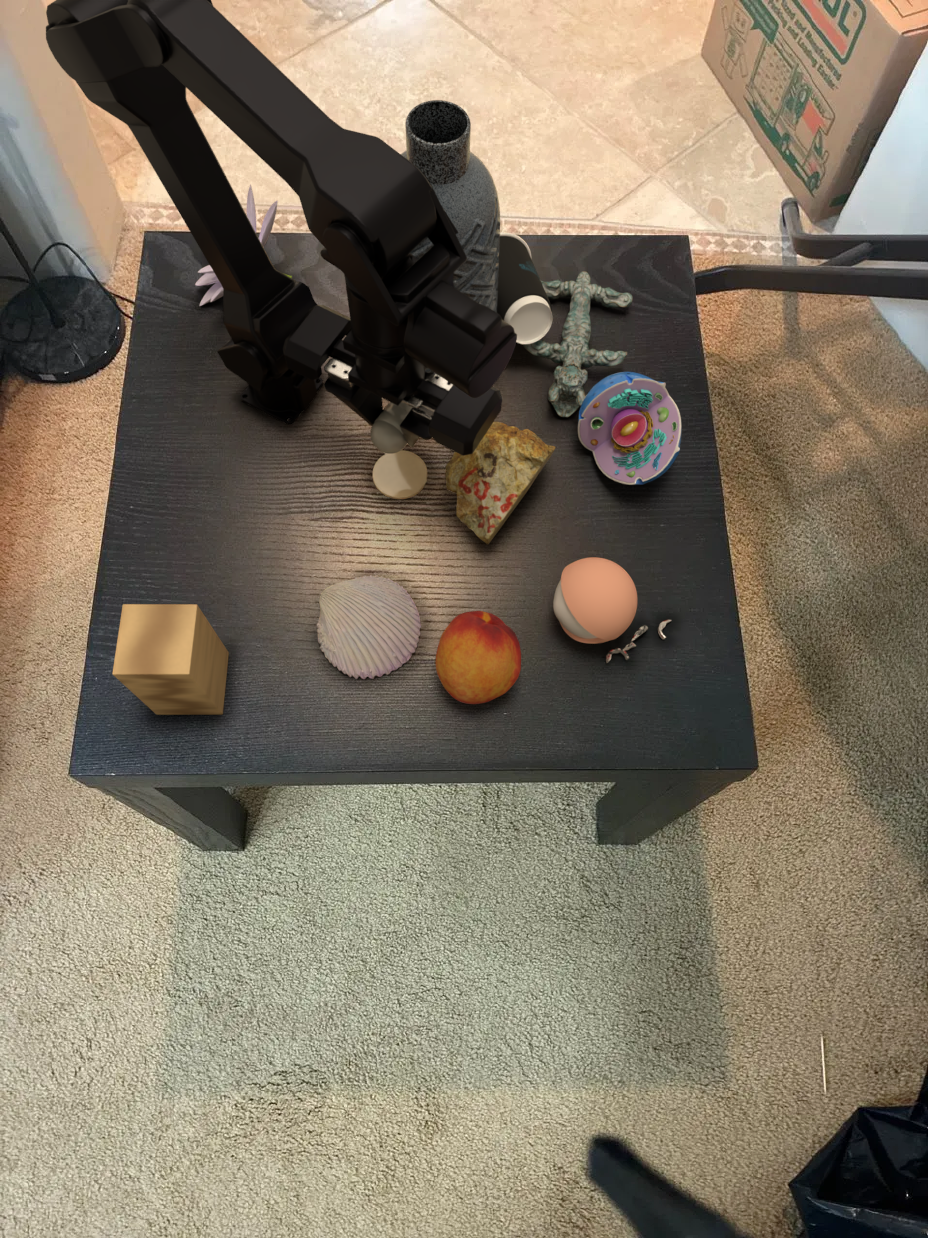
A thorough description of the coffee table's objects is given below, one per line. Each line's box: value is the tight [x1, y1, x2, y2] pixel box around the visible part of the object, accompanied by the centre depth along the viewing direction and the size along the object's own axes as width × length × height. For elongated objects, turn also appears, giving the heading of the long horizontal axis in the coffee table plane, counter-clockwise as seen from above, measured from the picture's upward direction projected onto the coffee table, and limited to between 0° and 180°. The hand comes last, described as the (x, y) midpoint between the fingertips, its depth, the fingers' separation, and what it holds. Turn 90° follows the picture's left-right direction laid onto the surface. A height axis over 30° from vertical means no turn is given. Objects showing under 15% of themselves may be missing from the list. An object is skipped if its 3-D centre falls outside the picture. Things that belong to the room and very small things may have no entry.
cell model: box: [577, 371, 683, 486], centre depth 86 cm, size 10×12×10 cm
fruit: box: [434, 610, 522, 705], centre depth 77 cm, size 8×8×8 cm
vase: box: [400, 99, 501, 373], centre depth 81 cm, size 12×12×28 cm
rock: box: [444, 421, 557, 546], centre depth 86 cm, size 12×9×10 cm
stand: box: [112, 603, 230, 716], centre depth 75 cm, size 6×6×12 cm
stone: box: [369, 401, 412, 454], centre depth 81 cm, size 6×4×4 cm, turn 151°
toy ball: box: [552, 556, 638, 645], centre depth 80 cm, size 8×8×8 cm
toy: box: [605, 619, 672, 664], centre depth 82 cm, size 1×8×2 cm
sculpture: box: [522, 270, 633, 418], centre depth 94 cm, size 11×20×5 cm, turn 171°
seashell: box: [316, 574, 422, 680], centre depth 81 cm, size 10×6×10 cm
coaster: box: [371, 449, 428, 500], centre depth 89 cm, size 6×6×1 cm
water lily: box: [194, 184, 293, 307], centre depth 95 cm, size 15×15×9 cm
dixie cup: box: [497, 231, 554, 345], centre depth 91 cm, size 8×8×11 cm
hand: (396, 434), depth 82 cm, fingers closed on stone, 3 cm apart
